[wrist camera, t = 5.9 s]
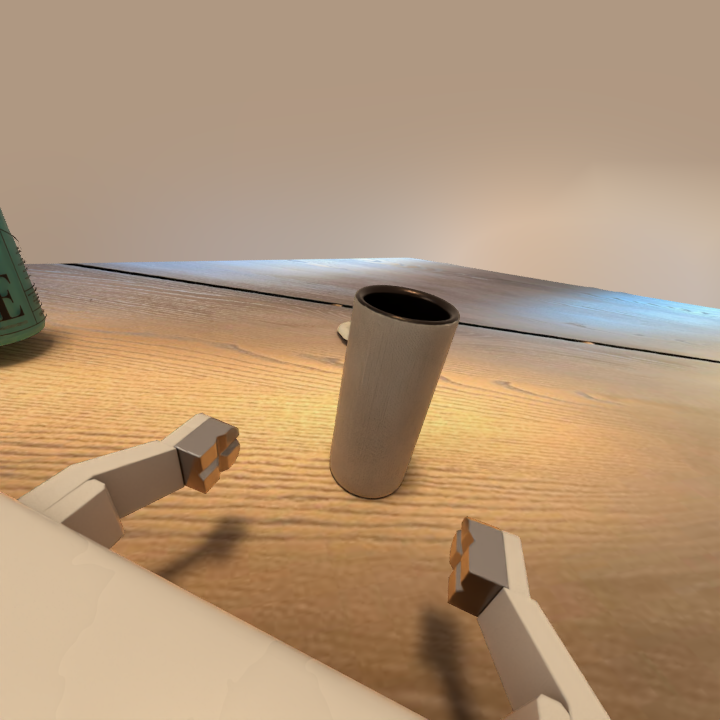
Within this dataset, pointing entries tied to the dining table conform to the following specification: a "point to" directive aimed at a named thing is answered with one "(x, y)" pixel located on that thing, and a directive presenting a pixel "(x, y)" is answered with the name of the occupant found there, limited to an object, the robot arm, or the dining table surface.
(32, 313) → the beverage bottle
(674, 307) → the dining table surface
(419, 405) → the grey tumbler
